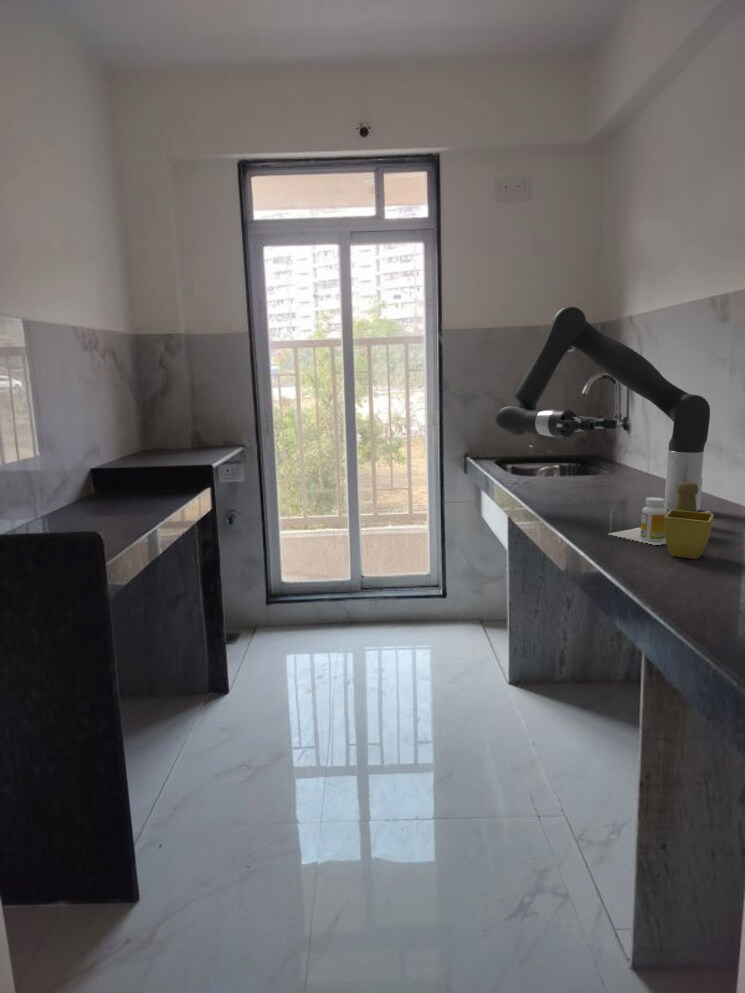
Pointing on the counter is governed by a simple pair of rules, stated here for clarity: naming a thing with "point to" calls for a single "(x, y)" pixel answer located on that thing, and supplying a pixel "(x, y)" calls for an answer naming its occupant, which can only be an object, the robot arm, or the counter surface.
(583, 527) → the counter surface
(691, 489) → the olive chess pawn
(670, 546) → the flower pot
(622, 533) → the paper
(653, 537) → the supplement bottle
